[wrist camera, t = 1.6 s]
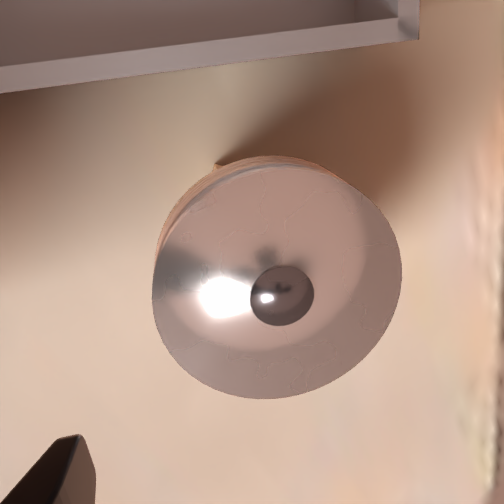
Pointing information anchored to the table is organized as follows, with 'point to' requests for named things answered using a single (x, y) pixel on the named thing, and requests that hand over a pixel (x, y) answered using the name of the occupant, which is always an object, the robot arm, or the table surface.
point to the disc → (273, 278)
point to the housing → (181, 34)
